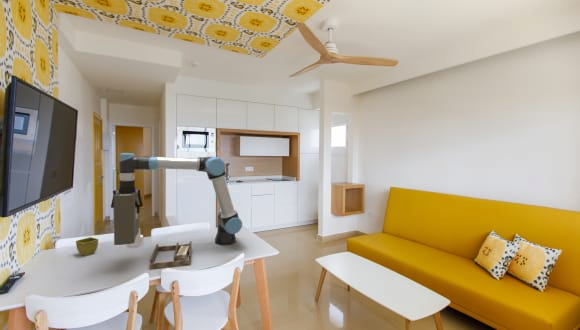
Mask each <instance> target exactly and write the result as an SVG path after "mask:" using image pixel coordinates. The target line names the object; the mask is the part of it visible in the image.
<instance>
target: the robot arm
mask: <svg viewBox="0 0 580 330" xmlns="http://www.w3.org/2000/svg"><path fill="white" fill-rule="evenodd" d="M158 169H162V170H163V169H164V170H194V171H197V172H202V173H206V174H207V178H208V180H209V181H211V183H212V185H213V189H214V190H213V191H214V192H215V196H216V199H217V202H218V205H219V209H220V210H219V211H218V212H217V232H216V235H215V238H214V244H217V245H221V246H223V245H224V246H227V245H228V246H229V245H232V244H235V243H236V241H237V238H236V234H238V233H239V232H240V231H241V229H242V228H243V222H242V219H240V217H239V213H238V211H237V210H236V209H234V205H233V201H232V198H231V195H230V192H229V187H228V184H227V180H226V178H225V177H226V175H227V174H226V163H225V161H224V160H223V159H222V158H220V157H218V156H205V157H202V156H201V157H200V156H199V157H196V158H191V157H187V158H186V157H170V156H167V157H166V156H148V155H143V156H136V155H135V153H133V152H132V153H131V152H130V153H129V152H121V153H120V154H119V176H118V177H119V188H118V189H114V190H113V191H112V194H113V195H112V200H111V203H110V208H112V209H114V195H115V194H117V193H118V192H120V193H121V194H132V193H133V192H135V191H136V193H138V199H139V204H138V202H137V200H135V205H136V208H135V219H137V218H138V213H139V214H140V211H141V210H140V208H142V207H143V206H144V202H143V198H142V194H141V193H142V190H141V189H139V190H137V189H136V180H135V179H136V176H135V175H136V170H141V171H142V170H143V171H145V170H147V171H148V170H151V171H153V170H158Z"/></svg>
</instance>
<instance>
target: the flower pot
mask: <svg viewBox="0 0 580 330" xmlns="http://www.w3.org/2000/svg"><path fill="white" fill-rule="evenodd" d="M75 245H76V246H75V247H76V250H77V252H78V253H79V254H80V255H82V256H90V255H92V254H95V252H96V251H97V248H98V245H99V238H95V237H92V236H90V237H86V238H82V239H78V240H75Z"/></svg>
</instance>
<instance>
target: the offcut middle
mask: <svg viewBox="0 0 580 330" xmlns="http://www.w3.org/2000/svg"><path fill="white" fill-rule="evenodd" d="M188 257H189V251H188V253H187V256H186V258H182V259H177V260H176V261H180V260H188Z"/></svg>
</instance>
